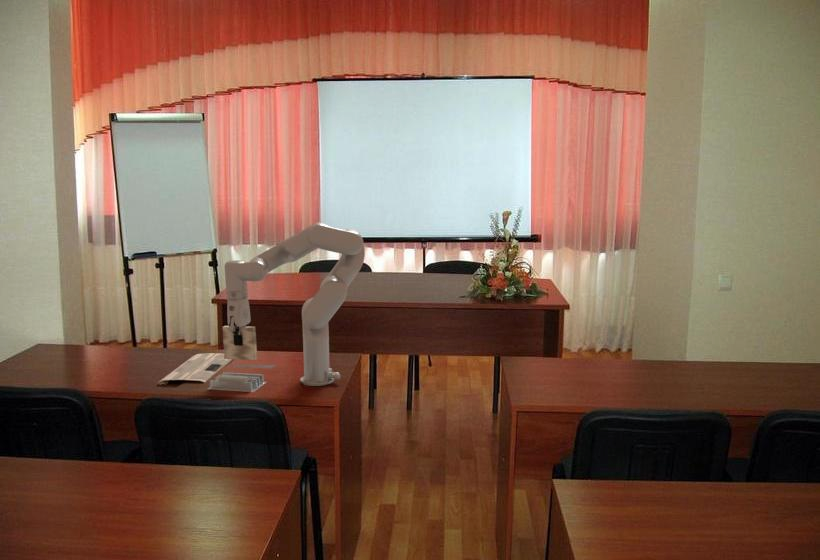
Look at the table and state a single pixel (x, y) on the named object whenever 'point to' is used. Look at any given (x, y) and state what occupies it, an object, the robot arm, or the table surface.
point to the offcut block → (233, 378)
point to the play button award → (255, 366)
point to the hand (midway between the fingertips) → (240, 344)
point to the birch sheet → (240, 352)
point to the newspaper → (198, 368)
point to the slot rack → (238, 383)
